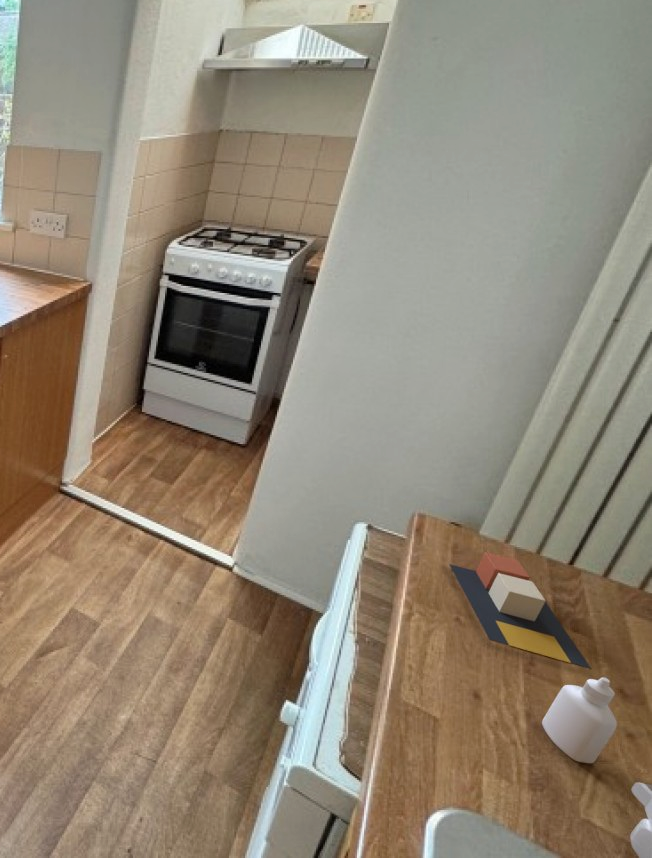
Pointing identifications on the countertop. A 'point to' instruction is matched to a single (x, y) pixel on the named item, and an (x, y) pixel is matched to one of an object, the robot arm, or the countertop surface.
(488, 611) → the word mat
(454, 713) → the countertop surface
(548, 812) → the countertop surface
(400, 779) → the countertop surface
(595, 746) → the eye dropper bottle
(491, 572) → the terracotta letter block
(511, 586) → the cream cube
